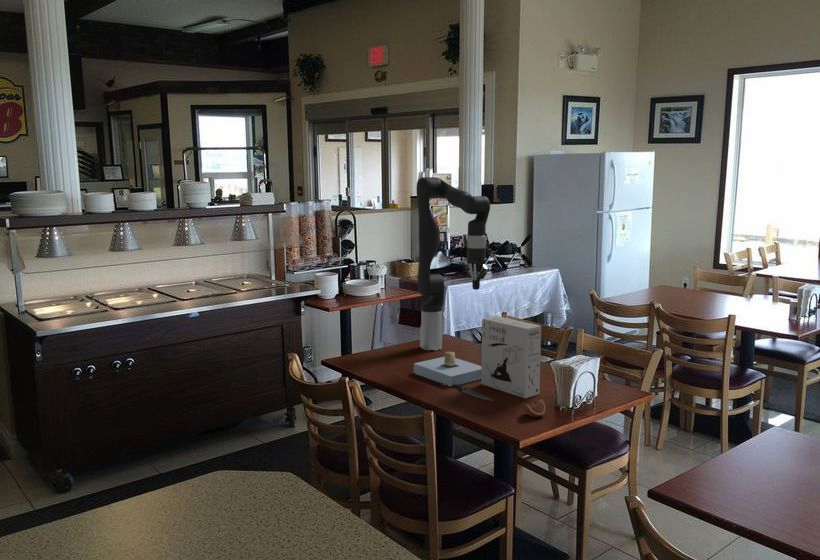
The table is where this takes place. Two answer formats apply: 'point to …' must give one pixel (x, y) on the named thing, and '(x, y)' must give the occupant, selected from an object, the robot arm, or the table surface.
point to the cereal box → (511, 356)
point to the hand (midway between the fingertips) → (475, 289)
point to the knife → (470, 392)
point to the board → (448, 371)
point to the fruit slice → (535, 408)
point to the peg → (449, 360)
